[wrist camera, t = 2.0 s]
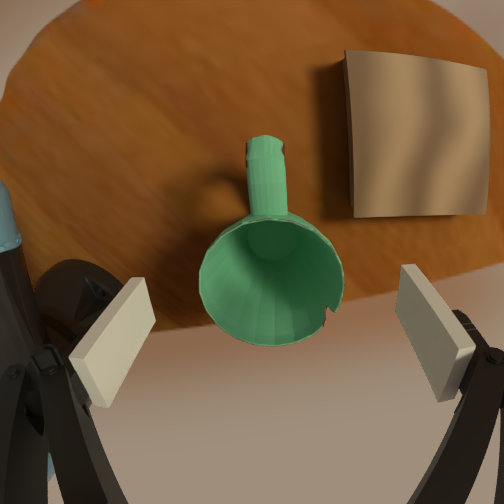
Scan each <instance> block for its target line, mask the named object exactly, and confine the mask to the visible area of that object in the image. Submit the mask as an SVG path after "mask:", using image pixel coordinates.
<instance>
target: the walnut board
mask: <svg viewBox="0 0 504 504" xmlns="http://www.w3.org/2000/svg"><path fill="white" fill-rule="evenodd" d="M344 53H345V58H344V59H343V60H342V64H343V73H344V84H345V96H346V109H347V124H348V144H349V174H350V206H351V207H352V208H353V217H354V218H363V217H390V216H423V215H476V214H486V206H487V196H488V184H489V167H490V109H489V92H488V81H487V71H486V70H485V69H481V68H477V67H473V66H469V65H464V64H459V63H455V62H449V61H444V60H439V59H433V58H426V57H420V56H412V55H405V54H396V53H386V52H374V51H358V50H345V51H344Z"/></svg>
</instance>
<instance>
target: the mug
mask: <svg viewBox="0 0 504 504" xmlns="http://www.w3.org/2000/svg"><path fill="white" fill-rule="evenodd" d="M246 172H247V183H248V193H249V202H250V212H251V214H249V215H248V216H246V217H244V218H242V219H241V220H239V221H238V222H236V223H235V224H233V225H231V226H230V227H228V228H226V229H224V230H223V231H222V233H221V234H220V235H219V236H218V237H217V238H216V239H215V241H214V242H213V243H212V244H211V245H210V246H209V248H208V249H207V251H206V253H205V256H204V259H203V261H202V264H201V267H200V269H199V294H200V297H201V300H202V303H203V305H204V308H205V311H206V312H207V313H208V314H209V316H210V317H211V318H212V320H213V321H214V322H215V323H216V325H217V326H218V327H220V328H221V329H223V330H224V331H225V332H227V333H228V334H230V335H231V336H232V337H234V338H236V339H239V340H242V341H244V342H247V343H250V344H253V345H261V346H271V347H276V346H282V345H289V344H294V343H297V342H300V341H302V340H304V339H306V338H308V337H311V336H313V335H314V334H316V333H317V332H318V331H319V330H320V329H321V328H322V327H323V326H324V323H325V320H326V315H325V314H326V309H327V307H329V309H330V310H331V311H333V312H336V311H337V310H338V308H339V306H340V304H341V300H342V296H343V292H344V287H345V283H344V275H343V267H342V263H341V261H340V259H339V257H338V255H337V253H336V252H335V250H334V248H333V246H332V244H331V242H330V241H329V240H328V239H327V238H326V237H325V236H324V235H323V234H322V233H321V232H319V231H318V230H317V229H316V228H315V227H314V226H313V225H311V224H310V223H308V222H306V221H305V220H304V219H302V218H301V217H299V216H297V215H294V214H292V213H290V212H288V211H287V190H286V171H285V151H284V143H283V142H282V141H280V140H279V139H277V138H275V137H272V136H266V135H263V136H259V137H255V138H252V139H251V140H249V141H248V142H247V143H246Z"/></svg>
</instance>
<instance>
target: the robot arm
mask: <svg viewBox="0 0 504 504" xmlns="http://www.w3.org/2000/svg"><path fill="white" fill-rule="evenodd" d="M21 243H22V237H21V234H20V231H19V229H18V228H17V225H16V221H15V216H14V212H13V207H12V202H11V197H10V194H9V191H8V189H7V187H6V186H5V184H4V183H3V182H1V181H0V504H48V496H47V495H48V490H47V489H48V487H47V485H48V484H47V483H48V481H50V479H51V478H52V477H53V475H54V473H56V477H57V481H58V484H59V488H60V491H61V495H62V498H63V501H64V504H128V502H127V500H126V498H125V496H124V494H123V492H122V490H121V488H120V486H119V483H118V481H117V479H116V477H115V475H114V473H113V470H112V468H111V466H110V464H109V461H108V459H107V456H106V454H105V451H104V449H103V447H102V444H101V441H100V439H99V436H98V433H97V431H96V428H95V426H94V422H93V419H92V417H91V414H90V411H89V407H90V405H91V404H92V402H93V404H94V405H95V406H101V407H105V408H109V407H110V405H111V403H112V401H113V399H114V397H115V395H116V393H117V392H118V390H119V388H120V386H121V384H122V382H123V380H124V378H125V376H126V374H127V372H128V371H129V369H130V367H131V365H132V363H133V361H134V359H135V358H136V356H137V354H138V352H139V350H140V348H141V347H142V345H143V343H144V341H145V339H146V338H147V336H148V334H149V332H150V330H151V328H152V327H153V325H154V323H155V321H156V320H155V316H154V313H153V309H152V305H151V302H150V298H149V294H148V290H147V286H146V283H145V279H144V277H132V278H131V279H130V280H129V281H128V282H127V284H126V285H125V286H123V285H122V284H121V283H120V282H119V281H118V280H117V279H116V278H115V277H114V276H113V275H111V274H110V273H109V272H107V271H106V270H104V269H103V268H101V267H99V266H97V265H95V264H92V263H90V262H87V261H83V260H75V259H71V260H65V261H61V262H59V263H57V264H56V265H54V266H53V267H52V268H51V269H49V270H48V271H47V272H46V273H45V274H44V275H43V276H42V277H41V278H40V280H39V281H38V283H37V286H36V288H35V290H34V292H33V288H32V285H31V281H30V278H29V274H28V270H27V267H26V263H25V259H24V254H23V250H22V246H21ZM395 312H396V314H397V316H398V318H399V320H400V322H401V324H402V326H403V328H404V330H405V332H406V334H407V336H408V338H409V340H410V342H411V344H412V346H413V348H414V350H415V352H416V354H417V356H418V359H419V361H420V363H421V365H422V367H423V369H424V372H425V374H426V376H427V378H428V380H429V383H430V385H431V387H432V390H433V392H434V394H435V396H436V399H437V401H438V402H443V401H447V400H451V399H454V398H455V396H456V394H457V392H458V389H460V391H461V393H462V398H461V400H460V402H459V404H458V406H457V408H456V410H455V412H454V413H455V414H454V416H453V418H452V421H451V423H450V425H449V427H448V430H447V432H446V434H445V436H444V438H443V440H442V442H441V444H440V446H439V448H438V450H437V452H436V454H435V456H434V458H433V460H432V462H431V464H430V466H429V467H428V469H427V471H426V473H425V475H424V476H423V478H422V480H421V482H420V483H419V485H418V486H417V488H416V490H415V491H414V493H413V495H412V496H411V498H410V500H409V501H408V503H407V504H465V502H466V500H467V498H468V496H469V493H470V491H471V489H472V487H473V484H474V482H475V479H476V477H477V475H478V472H479V469H480V467H481V464H482V462H483V459H484V456H485V454H486V451H487V448H488V445H489V442H490V439H491V435H492V432H493V429H494V426H495V422H496V419H497V415H498V412H499V408H500V411H501V413H500V414H501V427H500V453H499V466H498V476H497V485H496V493H495V500H494V504H504V351H502V350H500V349H498V348H493V347H489V345H488V344H487V343H486V341H485V340H484V338H483V337H482V336H481V334H480V333H479V331H478V330H477V329H476V327H475V326H474V325H473V324H472V322H471V321H470V319H469V318H468V317H467V315H465V314H464V313H462V312H461V311H459V310H450V308H449V307H448V306H447V304H446V303H445V302H444V300H443V299H442V298H441V297H440V295H439V294H438V292H437V291H436V290H435V289H434V287H433V286H432V285H431V283H430V282H429V281H428V280H427V278H426V277H425V276H424V275H423V273H422V272H421V271H420V270H419V268H418V267H417V266H416V265H415V264H409V265H401V273H400V281H399V289H398V296H397V303H396V309H395Z"/></svg>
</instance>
